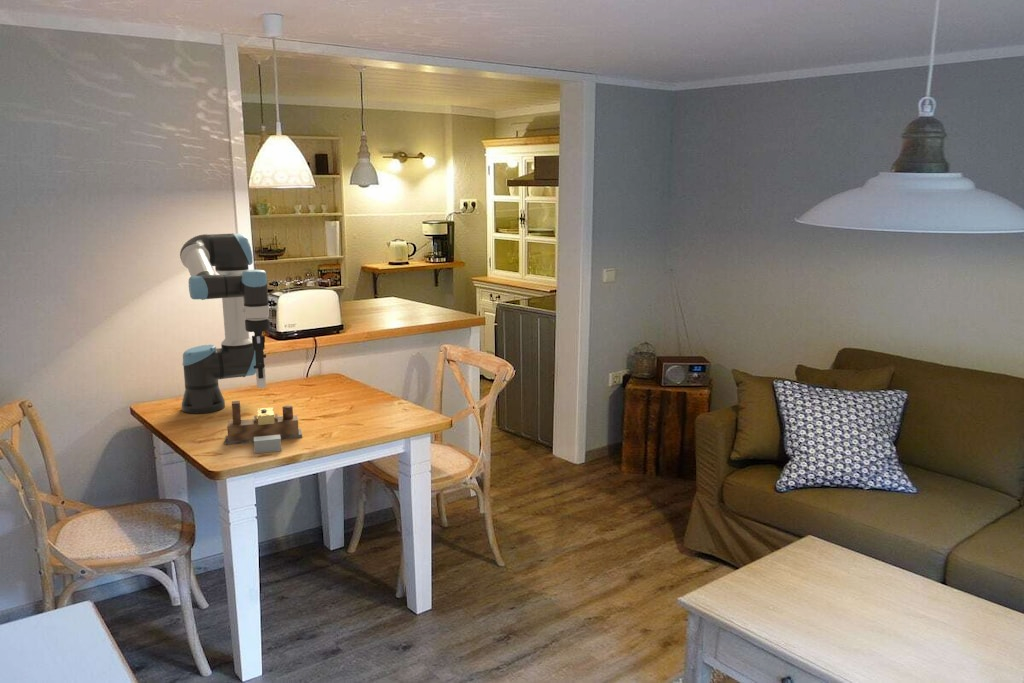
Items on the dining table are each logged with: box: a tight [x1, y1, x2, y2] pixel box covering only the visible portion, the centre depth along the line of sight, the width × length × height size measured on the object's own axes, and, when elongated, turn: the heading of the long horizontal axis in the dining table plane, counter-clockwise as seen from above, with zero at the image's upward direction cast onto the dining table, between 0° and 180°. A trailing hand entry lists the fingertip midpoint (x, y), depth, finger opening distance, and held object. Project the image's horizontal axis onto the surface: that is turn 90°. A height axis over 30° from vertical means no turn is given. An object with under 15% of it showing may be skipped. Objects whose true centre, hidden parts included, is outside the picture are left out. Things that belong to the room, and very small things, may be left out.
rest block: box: [253, 435, 282, 454], centre depth 241 cm, size 4×8×4 cm, turn 109°
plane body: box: [224, 400, 303, 446], centre depth 251 cm, size 24×6×13 cm, turn 109°
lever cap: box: [256, 406, 275, 425], centre depth 251 cm, size 5×9×4 cm, turn 19°
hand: (261, 382), depth 248 cm, fingers open, 13 cm apart
